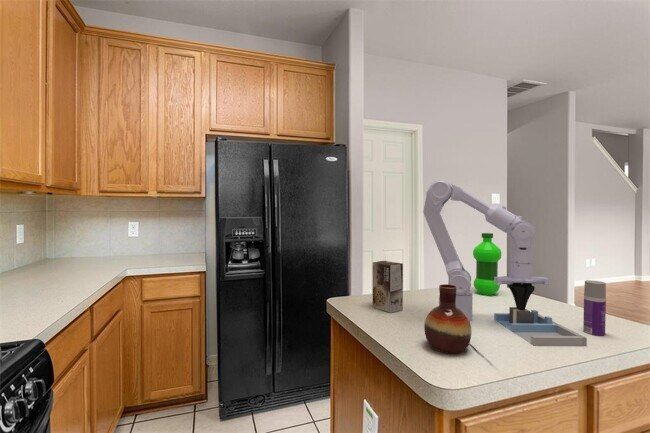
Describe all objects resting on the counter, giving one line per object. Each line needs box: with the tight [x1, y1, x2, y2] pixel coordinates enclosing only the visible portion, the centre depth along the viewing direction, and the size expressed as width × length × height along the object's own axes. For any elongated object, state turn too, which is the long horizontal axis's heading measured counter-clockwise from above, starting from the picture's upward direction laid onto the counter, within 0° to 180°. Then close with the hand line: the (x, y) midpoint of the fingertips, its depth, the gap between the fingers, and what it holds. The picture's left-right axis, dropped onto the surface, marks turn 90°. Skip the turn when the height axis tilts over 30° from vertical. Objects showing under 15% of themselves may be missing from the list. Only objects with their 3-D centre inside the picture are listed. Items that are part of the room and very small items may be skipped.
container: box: [582, 279, 607, 337], centre depth 92 cm, size 5×5×15 cm
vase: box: [423, 284, 472, 355], centre depth 84 cm, size 11×11×15 cm
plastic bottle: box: [472, 232, 502, 296], centre depth 139 cm, size 10×10×25 cm
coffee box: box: [371, 260, 404, 314], centre depth 117 cm, size 9×6×16 cm
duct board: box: [493, 309, 588, 347], centre depth 93 cm, size 13×20×4 cm, turn 0°
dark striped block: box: [508, 306, 534, 324], centre depth 97 cm, size 4×6×5 cm, turn 179°
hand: (520, 309), depth 97 cm, fingers closed
